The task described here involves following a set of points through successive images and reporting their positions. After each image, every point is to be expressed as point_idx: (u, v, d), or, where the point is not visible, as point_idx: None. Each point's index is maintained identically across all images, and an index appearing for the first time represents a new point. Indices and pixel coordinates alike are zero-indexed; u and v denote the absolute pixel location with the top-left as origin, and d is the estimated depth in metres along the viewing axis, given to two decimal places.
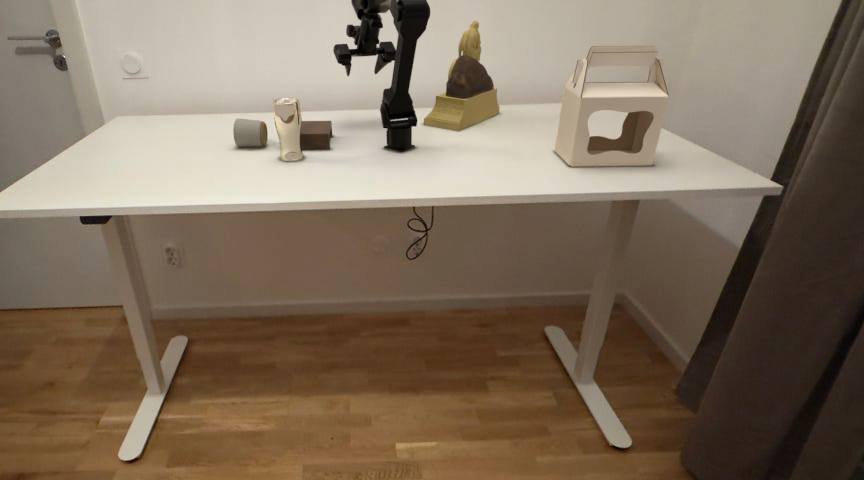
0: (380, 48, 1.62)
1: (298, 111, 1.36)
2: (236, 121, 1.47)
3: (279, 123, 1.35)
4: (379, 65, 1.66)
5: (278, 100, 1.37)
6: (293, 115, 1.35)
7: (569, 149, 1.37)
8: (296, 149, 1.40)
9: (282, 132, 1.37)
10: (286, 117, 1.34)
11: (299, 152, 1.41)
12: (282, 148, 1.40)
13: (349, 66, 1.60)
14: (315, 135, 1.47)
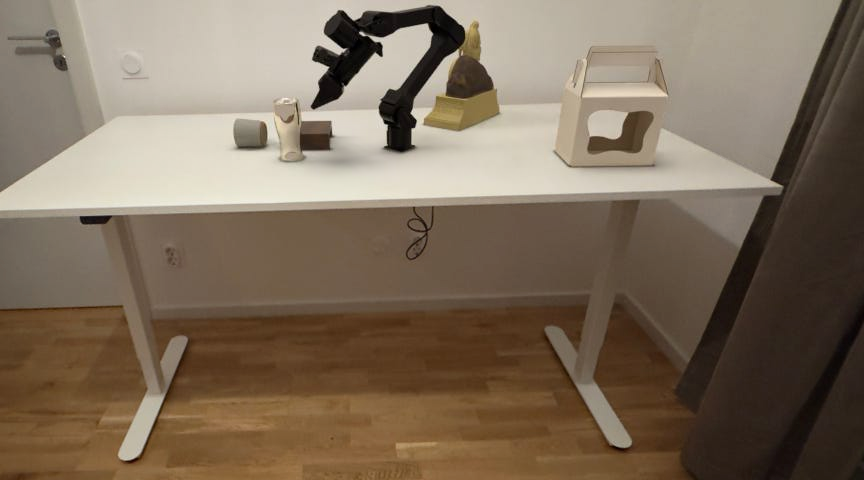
0: None
1: (298, 111, 1.36)
2: (236, 121, 1.47)
3: (279, 123, 1.35)
4: None
5: (278, 100, 1.37)
6: (293, 115, 1.35)
7: (569, 149, 1.37)
8: (296, 149, 1.40)
9: (282, 132, 1.37)
10: (286, 117, 1.34)
11: (299, 152, 1.41)
12: (282, 148, 1.40)
13: None
14: (315, 135, 1.47)
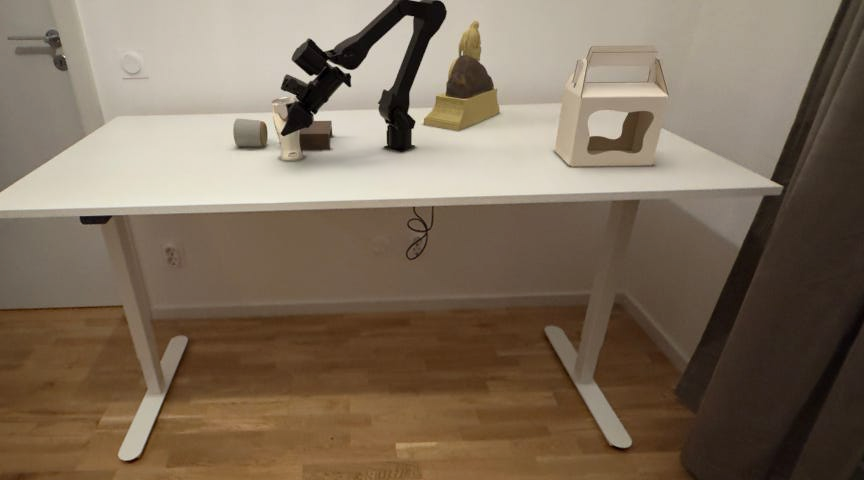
0: None
1: None
2: (236, 121, 1.47)
3: (278, 123, 1.35)
4: None
5: (277, 100, 1.37)
6: None
7: (569, 149, 1.37)
8: (296, 148, 1.40)
9: None
10: (285, 117, 1.34)
11: (299, 151, 1.41)
12: (282, 148, 1.40)
13: None
14: (315, 135, 1.47)
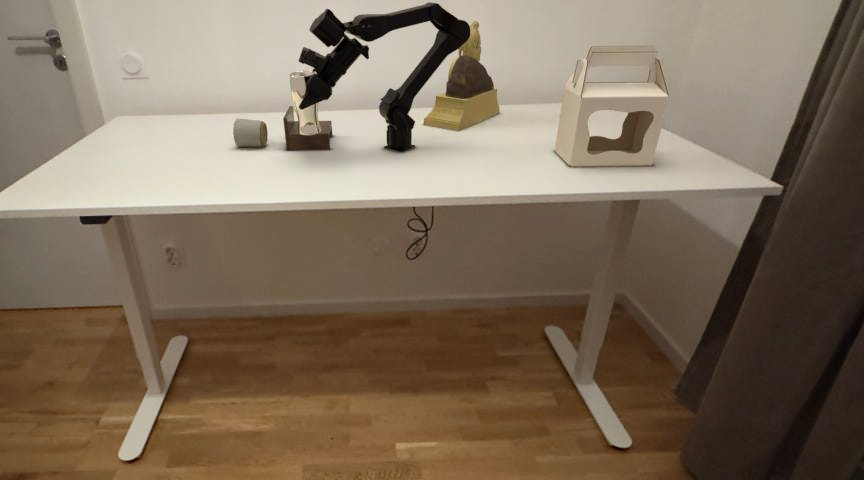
0: None
1: None
2: (236, 121, 1.47)
3: (296, 96, 1.35)
4: None
5: (294, 73, 1.37)
6: None
7: (569, 149, 1.37)
8: (314, 122, 1.40)
9: None
10: (303, 90, 1.34)
11: (317, 125, 1.41)
12: (300, 122, 1.40)
13: None
14: (315, 135, 1.47)
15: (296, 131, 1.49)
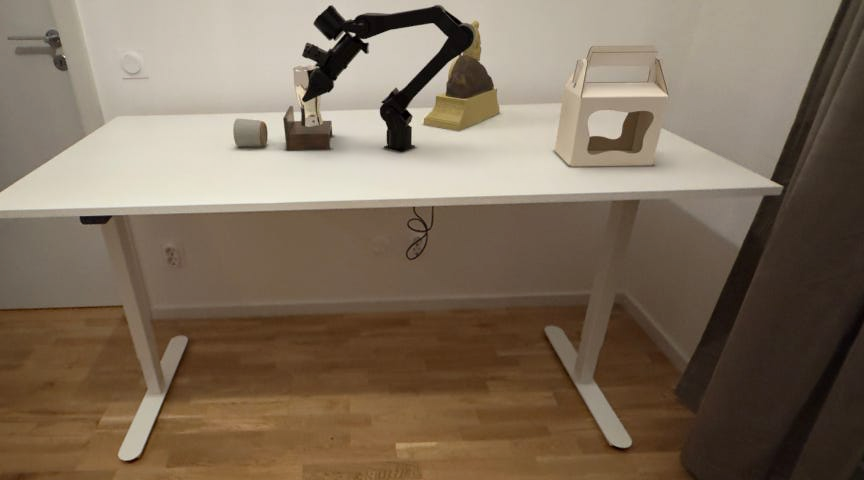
0: None
1: None
2: (236, 121, 1.47)
3: (300, 89, 1.42)
4: None
5: (298, 68, 1.44)
6: None
7: (569, 149, 1.37)
8: (316, 115, 1.46)
9: None
10: (306, 83, 1.41)
11: (319, 118, 1.47)
12: (303, 114, 1.46)
13: (324, 92, 1.41)
14: (315, 135, 1.47)
15: (296, 131, 1.49)
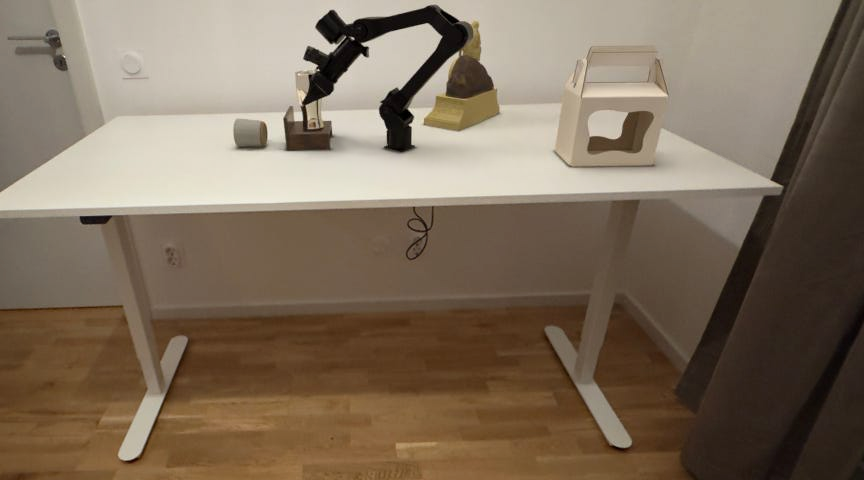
0: None
1: None
2: (236, 121, 1.47)
3: (301, 93, 1.45)
4: None
5: (299, 72, 1.46)
6: None
7: (569, 149, 1.37)
8: (317, 118, 1.49)
9: None
10: (308, 87, 1.43)
11: (320, 121, 1.50)
12: (304, 118, 1.49)
13: None
14: (315, 135, 1.47)
15: (296, 131, 1.49)
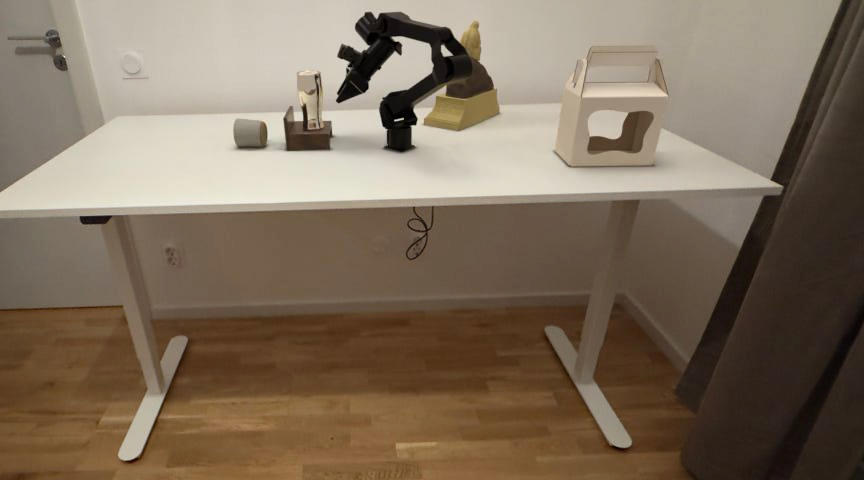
0: None
1: (320, 82, 1.45)
2: (236, 121, 1.47)
3: (302, 93, 1.45)
4: None
5: (301, 72, 1.46)
6: (316, 86, 1.44)
7: (569, 149, 1.37)
8: (318, 119, 1.49)
9: (305, 102, 1.46)
10: (309, 87, 1.44)
11: (320, 122, 1.50)
12: (304, 118, 1.49)
13: None
14: (315, 135, 1.47)
15: (296, 131, 1.49)
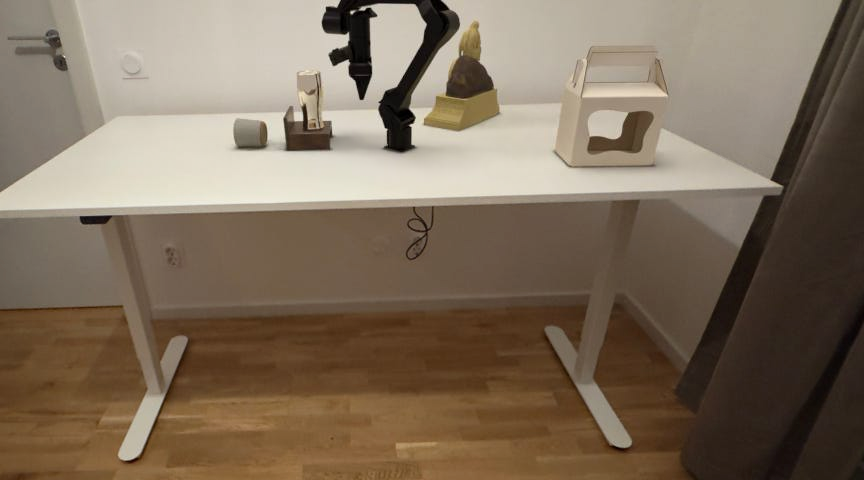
0: None
1: (320, 82, 1.45)
2: (236, 121, 1.47)
3: (302, 93, 1.45)
4: None
5: (301, 72, 1.46)
6: (316, 86, 1.44)
7: (569, 149, 1.37)
8: (318, 119, 1.49)
9: (305, 102, 1.46)
10: (309, 87, 1.44)
11: (320, 122, 1.50)
12: (304, 118, 1.49)
13: (370, 78, 1.42)
14: (315, 135, 1.47)
15: (296, 131, 1.49)
